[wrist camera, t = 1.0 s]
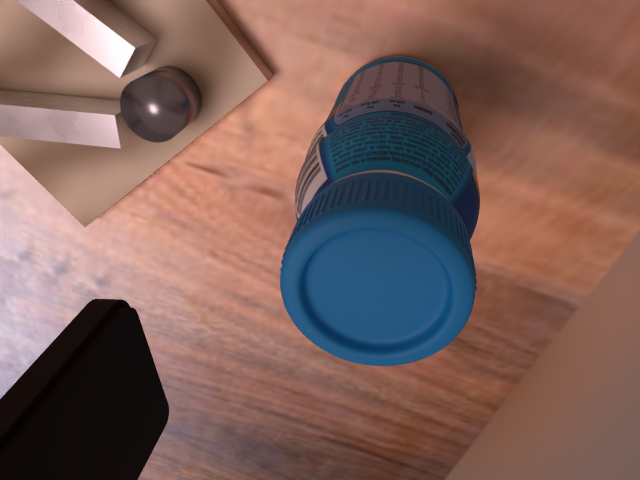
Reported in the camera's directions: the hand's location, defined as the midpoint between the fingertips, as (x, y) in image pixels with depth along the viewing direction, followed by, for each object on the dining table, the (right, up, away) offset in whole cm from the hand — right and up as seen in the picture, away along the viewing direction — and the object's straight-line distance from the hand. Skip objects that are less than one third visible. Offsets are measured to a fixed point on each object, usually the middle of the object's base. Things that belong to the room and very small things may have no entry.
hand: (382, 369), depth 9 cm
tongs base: (-16, +17, +24) cm, 34 cm away
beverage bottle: (+4, +11, +25) cm, 27 cm away
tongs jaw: (-21, +12, +26) cm, 36 cm away
